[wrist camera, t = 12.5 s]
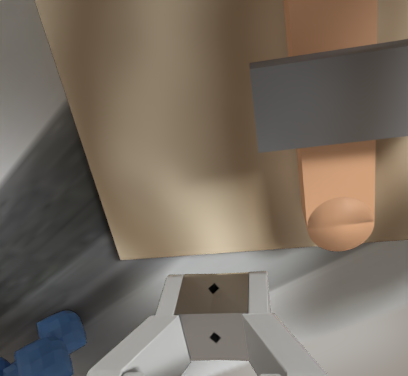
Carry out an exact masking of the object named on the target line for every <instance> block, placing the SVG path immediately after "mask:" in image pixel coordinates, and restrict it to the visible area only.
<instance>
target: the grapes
mask: <svg viewBox="0 0 408 376" xmlns="http://www.w3.org/2000/svg"><path fill="white" fill-rule="evenodd" d="M37 329H38V335H39V339H38V340H36V341H34V342H32V343H30V344H28V345H26V346H25V347H23V348H21V349H19V350H18V351H16V352H15V355H14V357H15V362H13V363H12V364H10V363H9V362H8V361H7V360H5V359H4V358H2V357H0V376H71V375H73V367H72V361H71V358H70V355H69V354H70V353H72V352H74V351H76V350H77V349H79V348H81V347H82V346H84V345H85V344H86V343H87V341H86V335H85V331H84V328H83V325H82V322H81V319H80V317H79V316H78V315H77V314H76V313H74V312H72V311H70V310H69V311H61V312H58V313H55V314H53V315H51V316H49V317H47V318H45V319H43V320H42V321H40V322H38V323H37Z"/></svg>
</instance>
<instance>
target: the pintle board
mask: <svg viewBox="0 0 408 376" xmlns="http://www.w3.org/2000/svg"><path fill="white" fill-rule="evenodd" d="M34 1H35V4H36V7H37V10H38V13H39V16H40V19H41V22H42V25H43V28H44V31H45V34H46V37H47V40H48V43H49V46H50V49H51V52H52V55H53V58H54V61H55V64H56V67H57V70H58V73H59V76H60V79H61V82H62V85H63V88H64V91H65V94H66V97H67V100H68V103H69V106H70V109H71V112H72V115H73V118H74V121H75V124H76V127H77V130H78V133H79V136H80V139H81V142H82V145H83V148H84V151H85V154H86V157H87V160H88V163H89V166H90V169H91V172H92V175H93V179H94V182H95V185H96V188H97V191H98V194H99V197H100V200H101V203H102V206H103V209H104V212H105V215H106V218H107V221H108V224H109V227H110V230H111V233H112V236H113V239H114V242H115V245H116V248H117V251H118V254H119V257H120V260H130V259H144V258H158V257H172V256H186V255H200V254H214V253H228V252H242V251H256V250H270V249H285V248H299V247H313V246H317V245H316V244H315V243H314V242H313V241H312V240H311V238H310V236H309V234H308V231H307V227H306V223H305V219H304V215H303V211H302V206H301V194H300V183H299V172H298V161H297V149H298V148H307V147H315V146H324V145H333V144H342V143H351V142H360V141H369V140H376V153H375V222H374V228H373V231H372V233H371V235H370V236H369V237H368V239H367V240H366V241H365V242H363V243H369V242H383V241H397V240H408V0H378V5H377V44H371V45H365V46H358V47H351V48H345V49H338V50H332V51H325V52H318V53H312V54H305V55H299V56H292V57H288V48H287V37H286V26H285V14H284V3H283V0H34Z"/></svg>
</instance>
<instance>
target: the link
mask: <svg viewBox="0 0 408 376" xmlns="http://www.w3.org/2000/svg"><path fill="white" fill-rule="evenodd" d="M283 3H284V14H285V26H286V37H287V48H288V57H292V56H299V55H305V54H312V53H318V52H325V51H332V50H338V49H345V48H351V47H358V46H365V45H371V44H377V5H378V0H283ZM375 153H376V140H369V141H360V142H351V143H342V144H333V145H324V146H315V147H307V148H298V149H297V161H298V172H299V183H300V194H301V206H302V211H303V215H304V219H305V223H306V227H307V231H308V234H309V236H310V238H311V240H312V241H313V242H314V243H315V244H316V245H317V246H319V247H321V248H323V249H326V250H329V251H346V250H350V249H353V248H355V247H357V246H359V245H361V244H362V243H363V242H365V241H366V240H367V239H368V237H369V236H370V235H371V233H372V231H373V228H374V222H375Z"/></svg>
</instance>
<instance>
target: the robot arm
mask: <svg viewBox="0 0 408 376" xmlns="http://www.w3.org/2000/svg"><path fill="white" fill-rule="evenodd" d="M191 360H242V361H249V362H250V364H251V366H252V367H253V368H254V371H255V372H256V374H257V376H327V373H326V372H325V371H324V370H323V369H322V367H321V366H320V365H319V364H318V363H317V362H316V361H315V359H314V358H313V357H312V356H311V355H310V354H309V353H308V351H307V350H306V349H305V348H304V347H303V346H302V345H301V344H300V342H299V341H298V340H297V339H296V338H295V337H294V336H293V334H292V333H291V332H290V331H289V330H288V329H287V328H286V327H285V325H284V324H283V323H282V322H281V321H280V320H279V319H278V317H277V316H276V315H275V314H274V313H271V308H270V297H269V287H268V276H267V272H266V271H258V272H250V273H249V272H245V273H223V274H185V275H168V277H167V278H166V280H165V284H164V287H163V290H162V294H161V297H160V300H159V304H158V307H157V310H156V314H155V316H149V317H148V318H147V319H146V320H145V321H144V322H143V323H141V324H140V325H139V326H138V327H137V328H136V329H135V330H134V331H132V332H131V333H130V334H129V335H128V336H127V337H126V338H125V339H123V340H122V341H121V342H120V343H119V344H118V345H117V346H116V347H114V348H113V349H112V350H111V351H110V352H109V353H108V354H107V355H106V356H104V357H103V358H102V359H101V360H100V361H99V362H98V363H97V364H95V365H94V366H93V367H92V368H91V369H90V370H89V371H88V373H87V376H181V375H182V373H183V372H184V371H185V369H186V368H187V367H188V365H189V364H190V363H191Z"/></svg>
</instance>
